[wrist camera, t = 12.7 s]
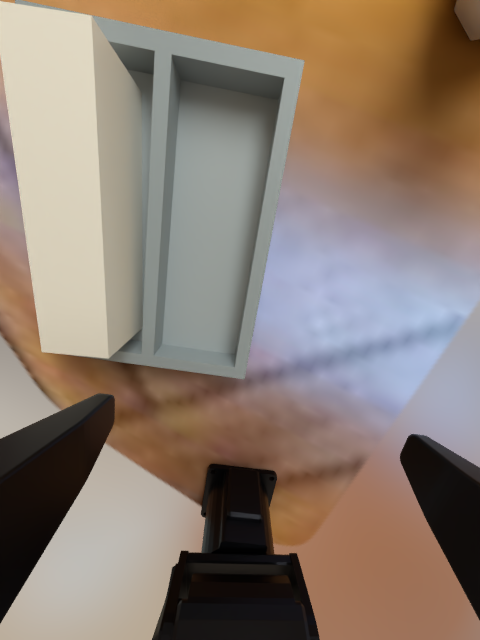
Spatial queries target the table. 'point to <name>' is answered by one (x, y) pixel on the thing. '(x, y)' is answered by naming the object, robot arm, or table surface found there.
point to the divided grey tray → (204, 190)
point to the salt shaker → (469, 17)
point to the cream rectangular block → (76, 177)
